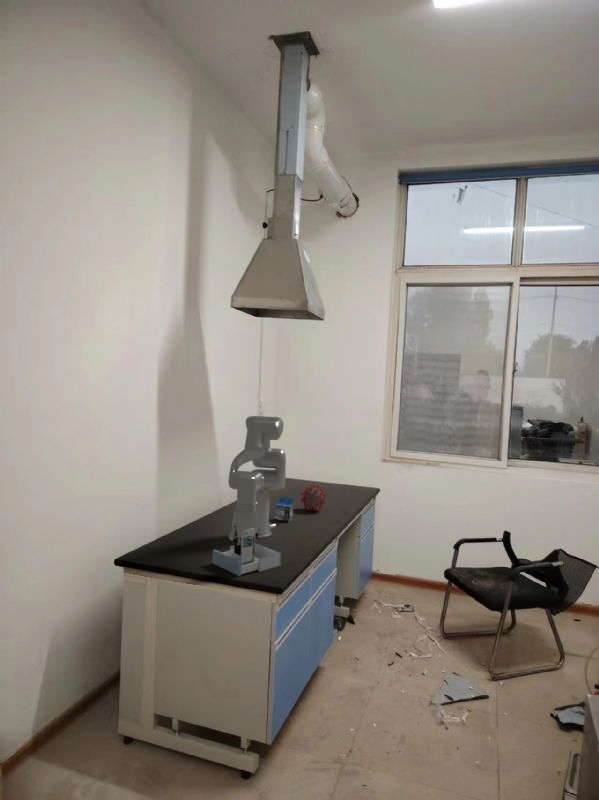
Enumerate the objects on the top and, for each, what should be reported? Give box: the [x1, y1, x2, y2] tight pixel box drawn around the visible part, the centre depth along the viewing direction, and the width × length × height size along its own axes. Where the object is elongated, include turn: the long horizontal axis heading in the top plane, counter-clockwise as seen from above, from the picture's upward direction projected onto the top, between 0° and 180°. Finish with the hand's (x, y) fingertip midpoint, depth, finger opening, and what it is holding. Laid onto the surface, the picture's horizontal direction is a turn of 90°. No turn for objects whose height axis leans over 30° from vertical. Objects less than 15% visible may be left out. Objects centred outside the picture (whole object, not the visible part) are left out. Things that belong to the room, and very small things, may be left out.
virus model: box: [300, 484, 327, 512], centre depth 297 cm, size 14×15×15 cm
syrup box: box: [235, 528, 256, 566], centre depth 200 cm, size 6×6×14 cm
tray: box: [212, 549, 259, 577], centre depth 202 cm, size 11×17×5 cm, turn 45°
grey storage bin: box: [229, 542, 282, 573], centre depth 209 cm, size 11×19×5 cm, turn 45°
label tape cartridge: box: [274, 495, 294, 523], centre depth 273 cm, size 9×4×12 cm, turn 62°
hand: (244, 551), depth 200 cm, fingers open, 6 cm apart
